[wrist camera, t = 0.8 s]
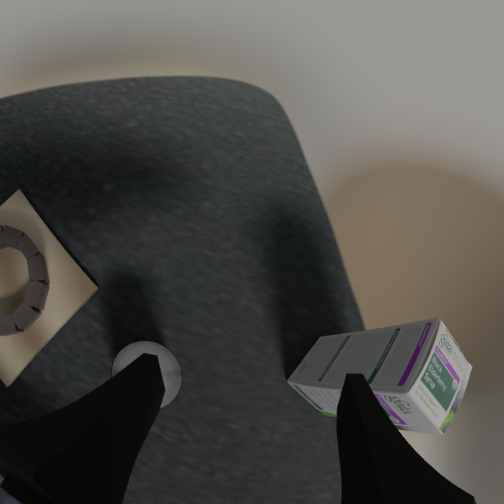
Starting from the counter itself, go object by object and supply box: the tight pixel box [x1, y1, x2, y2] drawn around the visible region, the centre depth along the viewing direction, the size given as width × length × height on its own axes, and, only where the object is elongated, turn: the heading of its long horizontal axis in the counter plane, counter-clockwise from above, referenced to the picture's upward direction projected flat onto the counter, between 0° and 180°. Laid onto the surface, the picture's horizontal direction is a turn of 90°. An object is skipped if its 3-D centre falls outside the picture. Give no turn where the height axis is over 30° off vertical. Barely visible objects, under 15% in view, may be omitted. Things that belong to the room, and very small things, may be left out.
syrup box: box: [287, 318, 472, 435], centre depth 22 cm, size 6×6×14 cm
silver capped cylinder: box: [111, 340, 182, 408], centre depth 20 cm, size 4×4×6 cm
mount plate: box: [0, 189, 98, 387], centre depth 19 cm, size 12×12×3 cm
